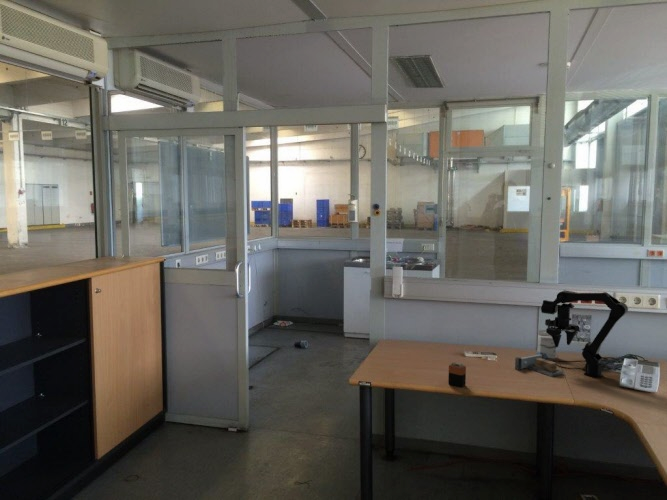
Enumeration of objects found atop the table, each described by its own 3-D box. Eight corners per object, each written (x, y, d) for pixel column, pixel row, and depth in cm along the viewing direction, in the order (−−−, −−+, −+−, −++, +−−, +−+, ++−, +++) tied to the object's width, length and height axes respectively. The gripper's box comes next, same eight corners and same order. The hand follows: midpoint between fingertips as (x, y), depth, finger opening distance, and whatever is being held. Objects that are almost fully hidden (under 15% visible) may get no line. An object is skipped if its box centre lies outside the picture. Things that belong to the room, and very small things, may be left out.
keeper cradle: (563, 374, 249) (563, 371, 248) (552, 376, 245) (552, 373, 245) (538, 366, 261) (538, 363, 261) (527, 368, 257) (528, 365, 257)
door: (539, 363, 265) (539, 354, 265) (543, 364, 263) (544, 355, 262) (518, 367, 257) (519, 358, 257) (522, 369, 255) (523, 359, 255)
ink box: (539, 358, 276) (540, 331, 275) (537, 355, 281) (537, 329, 280) (555, 358, 275) (557, 332, 274) (552, 356, 280) (553, 329, 279)
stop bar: (556, 372, 250) (556, 362, 249) (551, 373, 248) (551, 364, 247) (539, 367, 258) (539, 357, 258) (534, 368, 256) (534, 358, 256)
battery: (452, 382, 236) (452, 361, 236) (465, 385, 232) (466, 364, 231) (447, 384, 233) (448, 363, 232) (461, 387, 229) (462, 366, 228)
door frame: (542, 363, 266) (542, 352, 266) (545, 364, 265) (545, 353, 264) (515, 369, 257) (515, 357, 256) (518, 370, 255) (518, 358, 254)
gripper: (561, 311, 267) (560, 340, 268) (537, 314, 257) (536, 344, 258) (580, 314, 257) (579, 345, 258) (556, 318, 248) (555, 349, 249)
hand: (562, 346), depth 256 cm, fingers open, 9 cm apart
